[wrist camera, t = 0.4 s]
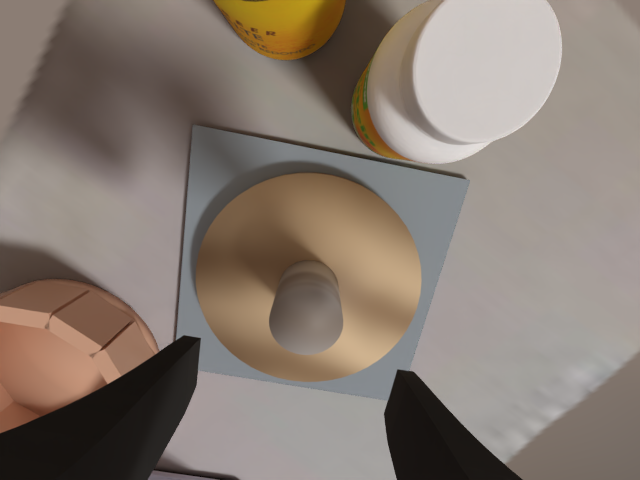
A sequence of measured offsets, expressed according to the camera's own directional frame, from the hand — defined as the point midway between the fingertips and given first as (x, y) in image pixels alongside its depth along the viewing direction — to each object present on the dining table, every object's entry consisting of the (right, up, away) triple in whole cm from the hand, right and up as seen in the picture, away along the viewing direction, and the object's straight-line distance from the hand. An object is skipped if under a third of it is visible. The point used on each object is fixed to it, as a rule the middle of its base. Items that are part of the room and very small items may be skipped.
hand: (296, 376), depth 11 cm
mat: (0, +2, +9) cm, 9 cm away
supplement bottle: (+5, +12, +6) cm, 15 cm away
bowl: (-16, -3, +11) cm, 20 cm away
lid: (0, +2, +9) cm, 9 cm away
